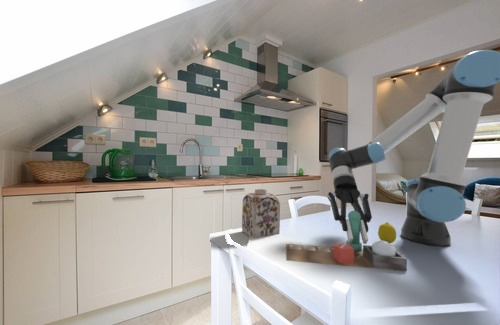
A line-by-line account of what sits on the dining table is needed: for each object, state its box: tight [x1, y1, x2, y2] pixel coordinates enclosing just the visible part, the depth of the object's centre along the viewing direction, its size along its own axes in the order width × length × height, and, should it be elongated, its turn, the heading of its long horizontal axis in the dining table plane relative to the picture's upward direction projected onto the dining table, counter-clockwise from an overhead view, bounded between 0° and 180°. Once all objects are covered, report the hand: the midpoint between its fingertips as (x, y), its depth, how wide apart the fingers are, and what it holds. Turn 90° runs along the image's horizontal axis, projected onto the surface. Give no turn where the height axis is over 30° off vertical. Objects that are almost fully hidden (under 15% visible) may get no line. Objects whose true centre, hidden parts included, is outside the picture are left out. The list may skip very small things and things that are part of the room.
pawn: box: [345, 210, 363, 252], centre depth 68 cm, size 4×4×12 cm
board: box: [285, 243, 408, 272], centre depth 65 cm, size 31×13×4 cm, turn 81°
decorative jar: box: [241, 188, 281, 239], centre depth 87 cm, size 12×12×18 cm
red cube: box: [332, 242, 354, 264], centre depth 62 cm, size 4×4×4 cm
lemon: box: [377, 221, 397, 244], centre depth 78 cm, size 6×6×8 cm
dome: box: [371, 240, 396, 257], centre depth 61 cm, size 6×6×5 cm
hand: (358, 241), depth 64 cm, fingers open, 3 cm apart
